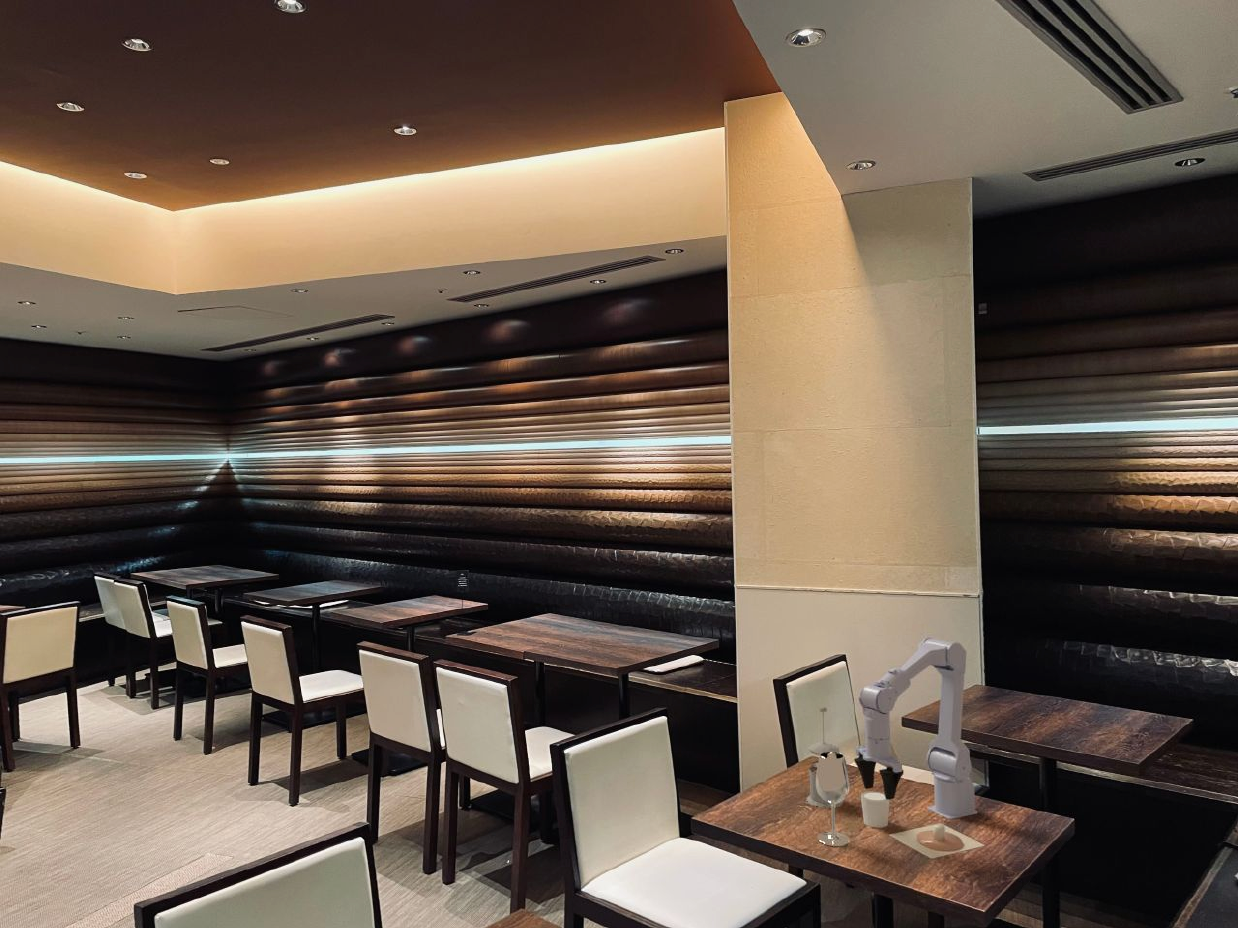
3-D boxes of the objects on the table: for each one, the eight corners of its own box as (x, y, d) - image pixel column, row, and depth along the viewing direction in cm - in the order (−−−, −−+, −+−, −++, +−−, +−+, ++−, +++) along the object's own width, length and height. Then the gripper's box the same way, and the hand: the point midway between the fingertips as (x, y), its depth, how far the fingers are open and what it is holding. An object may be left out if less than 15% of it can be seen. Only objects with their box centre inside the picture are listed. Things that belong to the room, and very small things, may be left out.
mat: (940, 824, 207) (940, 823, 207) (985, 846, 194) (985, 845, 194) (888, 836, 201) (888, 834, 201) (931, 860, 188) (931, 858, 188)
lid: (939, 829, 203) (939, 814, 204) (972, 846, 194) (971, 830, 194) (907, 837, 200) (907, 821, 200) (938, 854, 190) (938, 838, 190)
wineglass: (832, 849, 194) (830, 762, 195) (810, 837, 201) (808, 753, 202) (857, 842, 198) (855, 756, 198) (835, 830, 205) (833, 747, 205)
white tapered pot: (891, 830, 204) (891, 801, 204) (862, 828, 206) (861, 800, 206) (888, 819, 211) (888, 791, 211) (860, 817, 212) (859, 790, 213)
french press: (798, 797, 227) (796, 704, 227) (833, 790, 231) (831, 699, 232) (821, 810, 218) (819, 713, 218) (857, 802, 222) (855, 707, 223)
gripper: (845, 730, 208) (846, 785, 208) (884, 747, 195) (886, 806, 194) (868, 726, 211) (869, 781, 211) (908, 743, 197) (910, 801, 197)
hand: (879, 793), depth 203 cm, fingers open, 7 cm apart
